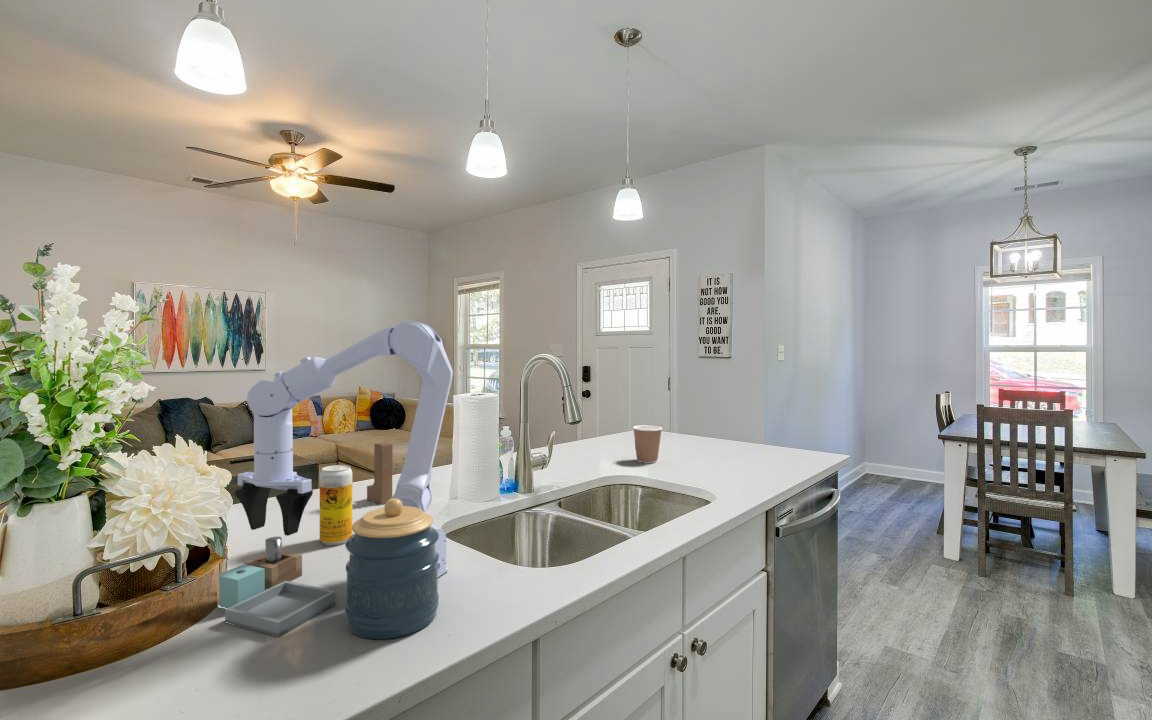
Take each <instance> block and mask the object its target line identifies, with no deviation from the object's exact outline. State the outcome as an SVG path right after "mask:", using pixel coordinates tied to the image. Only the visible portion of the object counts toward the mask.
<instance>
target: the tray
mask: <svg viewBox="0 0 1152 720" xmlns="http://www.w3.org/2000/svg"><path fill="white" fill-rule="evenodd" d="M336 595H337V594H336V591H335V590H332V589H327V588H322V587H318V586H317V587H316V586H312V585H308V584H305V583H304V584H303V583H299V582H294V581H284V582H282V583H280V584H277V585H275V586H273V587H271V588H269V589H265V591H263V592H261V593H259V594H256V595H254V596H252V597H250V598H248V599H246V600H244V601H242V602H240V603H238V604H236V605H233V606H231V607H229V608H227V609H225V610H224V622H228V623H231V624H234V625H237V626H236V627H238V626H240V627H239V628H241V627H243V628H242V629H245V628H246V630H249V631H253V632H257V633H260V634H265V635H270V636H272V637H277V638H280V637H282V636H284V635H285V634H288V632H290V631H292V630H293V629H295V628H297V627H298V626H301V625H303V624H304V623H307V621H309V620H311V619H312V618H314V617H316V616H317V615H319V614H321V613H323V612H324V611H326V610H327V609H329V608H331V607H333V606H335V605H336V603H337V602H336ZM234 625H233V626H234Z"/></svg>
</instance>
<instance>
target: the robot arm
mask: <svg viewBox="0 0 1152 720" xmlns="http://www.w3.org/2000/svg"><path fill="white" fill-rule="evenodd" d="M396 355H397V356H399V357H400V358H402V359H403V360H405V361H406V362H407V363H408V364H410V365H411V366H412V368H413V369H414V370H415V371H416V372H417V374H418V375H419V377H420V378H421V380H422V384H421V389H420V393H419V396H418V402H417V405H416V410H415V415H414V418H413V422H412V423H413V424H412V428H411V432H410V436H409V441H408V445H407V450H406V452H405V453H406V454H405V458H404V462H403V465H402V470H401V473H400V475H399V479H398V482H397V484H396V489H395V491H394V494H392V498H397V499H399V500H400V501H401V502H402V504H403V506H410V507H416V508H419V509H421V510H422V511H423V512H425V513H427V514H429V513H428V511H427V509H428V508H429V506H431V503H432V500H433V494H432V490H431V480H432V469H433V464H434V459H435V456H436V451H437V446H438V442H439V437H440V434H441V429H442V425H443V420H444V416H445V413H446V412H445V411H446V407H447V402H448V398H449V395H450V389H451V386H452V381H453V377H454V376H453V374H454V373H453V371H454V370H453V368H452V366H451V363H450V361H449V357H448V356H447V352H446V350H445V348H444V343H443V340H442V338H441V337H440V336H439V335H438V333H437V332H436V331H435V330H434V329H433V328H432V327H431V326H430V325H428V324H426V323H423V322H417V321H415V320H414V321H413V320H405V321H402V322H400V323H398V324H397V325H396V326H390V327H387V328H384V329H381V330H379V331H377V332H375V333H373V334H371V335H369V336H367V337H365V338H363V339H362V340H360V341H358V342H356V343H354V344H353V345H351V346H349V347H347V348H345V349H343V350H342V351H340V352H338V353H336V354H334V355H333V356H330V357H329V358H327V359H326V358H323V357H319V356H313V357H310V356H304V357H303V358H302V359H300V360H299V362H300V364H298V365H296V366H294V367H292V368H290V369H288V370H286V371H284V372H283V371H282V370H281V371H278V372H276V373H274V374H273V375H274V379H263V380H258V382H256V384H254V385H252V386H251V387H250V389H249V391H248V392H247V396H246V402H247V405H248V407H249V409H250V411H252V413H253V463H254V464H253V465H254V466H253V467H254V468H253V471H252V472H251V471H246V472H242V473H238V474H237V486H241V488H240V489H237V490H234V495H235V497H236V498H237V499H238V500H239V502H240V503H241V505H242V508H243V509H244V512H245V513H246V514H245V515H246V517H247V520H248V524H249V526H250V530H252V531H254V530H257V529H260V528H264V527H265V525H266V520H267V519H266V518H267V506H268V499H269V495H270V491H271V489H276V490H282V491H283V490H284V491H286V492H283V493H279V494H277V495H275V499H276V500H277V502H278V505H279V508H280V511H281V517H282V529H283V534H284V536H291V535H293V534H296V533H298V531H299V528H300V523H301V521H302V516H303V514H304V512H305V509H306V506H307V505H308V503H309V501H310V499H311V497H312V496H313V493H314V492H313V489H312V487H313V486H312V479H311V478H305V477H303V476H300V475H298V473H297V471H294V442H293V441H294V437H293V434H294V432H293V431H294V430H293V427H294V426H293V423H294V422H293V409H294V408H295V407H296V406H297V404H301V403H302V402H304V401H306V400H308V399H310V398H312V397H315V396H316V395H319V394H320V393H323V392H324V391H326V390H328V389H330V388H332V387H334V386H335V384H336V380H337V378H338V376H339V375H340V374H343V373H345V372H347V371H349V370H351V369H354V368H356V367H357V366H360V365H362V364H364V363H366V362H369V361H370V360H372V359H373V360H374V359H375V358H378V356H379V357H380V356H396ZM392 498H391V499H392ZM431 527H433V528H434V529H436V530H437V531H438V533H439V538H438V540H437V542H436V543H435V550H436V552H437V553H438V556H439V560H438V572H437V579H438V578H440V577H441V576H442V575H444V574H445V573H447V572H448V571H449V567H447V537H446V533H445V530H443V529H442V528H440V527H437V526H435V525H434V524H433V523H432V525H431Z"/></svg>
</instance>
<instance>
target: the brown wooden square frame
mask: <svg viewBox="0 0 1152 720" xmlns="http://www.w3.org/2000/svg"><path fill="white" fill-rule="evenodd" d="M244 564H245V565H250V566H255V567H260V568H265V590H267V589H269V588H271V587H273V586H275V585H277V584H280V583H282V582H284V581H290V582H293V580H296V579H298V578H300V577H302V576H303V555H302V554H298V553H293V552H288V551H283V550H282V561H279V562H277V563H275V564H268V563H265V554H263V555H260V556H257V557H256V558H253V559H251V560H248V561H246V562H244Z"/></svg>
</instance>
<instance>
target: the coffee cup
mask: <svg viewBox="0 0 1152 720" xmlns="http://www.w3.org/2000/svg"><path fill="white" fill-rule="evenodd" d="M632 429H633V435H634V449H635V453H636V454H635V455H636V460H637V462H639V463H641V462H644V463H643V464H652V463H651V462H655V463H657V462H656V461H658V458H659V451H660V443H661V437H662V430H663V427H661V426H657V425H651V424H650V425H647V424H646V425H644V424H641V425H635V426H633V427H632Z"/></svg>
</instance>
